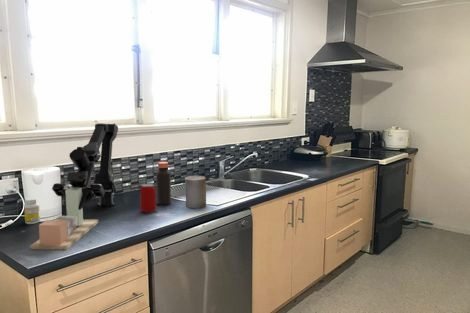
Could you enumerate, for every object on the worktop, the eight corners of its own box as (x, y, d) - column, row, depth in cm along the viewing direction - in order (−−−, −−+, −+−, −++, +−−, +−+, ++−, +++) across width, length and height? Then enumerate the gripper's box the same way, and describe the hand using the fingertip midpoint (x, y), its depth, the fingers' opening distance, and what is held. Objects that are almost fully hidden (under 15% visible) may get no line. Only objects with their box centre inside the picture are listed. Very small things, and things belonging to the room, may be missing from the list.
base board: (69, 222, 150) (68, 205, 149) (98, 222, 150) (97, 206, 149) (30, 249, 122) (28, 229, 121) (66, 249, 122) (65, 229, 121)
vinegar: (173, 203, 179) (173, 162, 177) (162, 206, 174) (161, 164, 172) (165, 200, 184) (164, 161, 181) (153, 203, 179) (152, 162, 176)
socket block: (47, 238, 128) (46, 220, 127) (67, 238, 128) (66, 220, 127) (40, 244, 123) (38, 225, 123) (60, 244, 123) (59, 225, 122)
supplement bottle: (35, 224, 147) (34, 200, 145) (22, 224, 147) (20, 200, 145) (42, 220, 152) (41, 197, 151) (29, 219, 152) (28, 197, 151)
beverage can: (149, 207, 171) (149, 182, 169) (159, 210, 167) (158, 184, 165) (137, 211, 166) (136, 184, 164) (146, 214, 162) (146, 187, 160)
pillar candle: (203, 202, 182) (202, 172, 180) (208, 207, 173) (208, 176, 171) (183, 204, 178) (182, 173, 176) (188, 209, 169) (187, 177, 167)
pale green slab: (72, 222, 144) (70, 187, 142) (83, 222, 144) (81, 188, 142) (50, 238, 127) (47, 199, 125) (62, 238, 127) (60, 199, 125)
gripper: (52, 163, 143) (39, 198, 134) (100, 163, 143) (90, 198, 133) (63, 178, 152) (51, 212, 143) (108, 179, 152) (99, 213, 142)
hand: (73, 209), depth 140 cm, fingers closed on pale green slab, 4 cm apart
